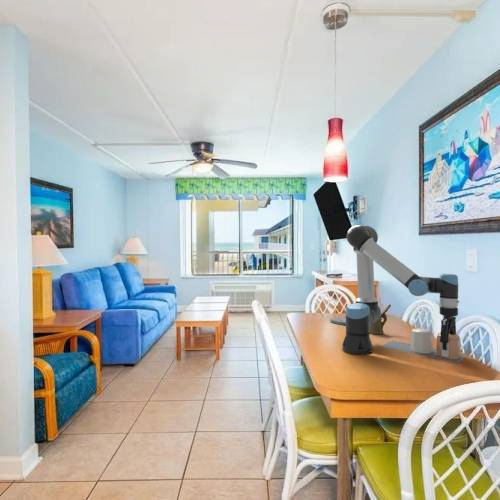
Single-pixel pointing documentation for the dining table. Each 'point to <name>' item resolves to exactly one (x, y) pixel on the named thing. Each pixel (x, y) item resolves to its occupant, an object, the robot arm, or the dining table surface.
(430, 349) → the cream cup
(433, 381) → the dining table surface
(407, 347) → the board
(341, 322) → the frisbee
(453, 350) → the terracotta cup
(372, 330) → the wooden mug
